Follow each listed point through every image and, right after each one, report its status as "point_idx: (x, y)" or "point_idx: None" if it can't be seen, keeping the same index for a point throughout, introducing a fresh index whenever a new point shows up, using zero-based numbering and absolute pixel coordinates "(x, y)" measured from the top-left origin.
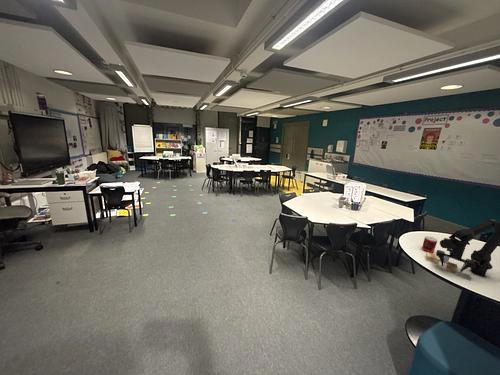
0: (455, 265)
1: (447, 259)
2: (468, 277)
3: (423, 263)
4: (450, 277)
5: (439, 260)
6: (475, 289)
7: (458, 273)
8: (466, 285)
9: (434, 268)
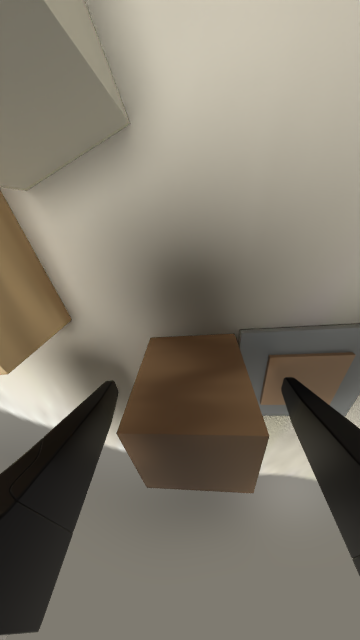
0: (235, 469)
1: (35, 70)
2: (345, 389)
3: (18, 403)
4: None
5: (22, 360)
6: None
7: (262, 378)
8: (278, 466)
9: None
